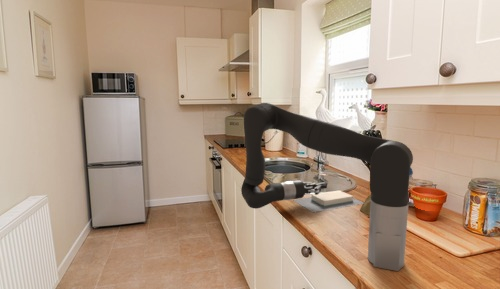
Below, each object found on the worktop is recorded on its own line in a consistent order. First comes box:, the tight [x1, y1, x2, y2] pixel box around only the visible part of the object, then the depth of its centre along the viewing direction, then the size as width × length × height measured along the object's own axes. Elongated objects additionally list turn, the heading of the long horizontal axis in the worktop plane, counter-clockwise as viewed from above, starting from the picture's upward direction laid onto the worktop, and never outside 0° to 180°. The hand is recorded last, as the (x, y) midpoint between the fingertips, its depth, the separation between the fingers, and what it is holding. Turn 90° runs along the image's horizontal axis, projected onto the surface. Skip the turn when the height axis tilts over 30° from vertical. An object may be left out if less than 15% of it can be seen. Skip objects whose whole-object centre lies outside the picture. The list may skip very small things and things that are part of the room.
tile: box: [311, 190, 354, 207], centre depth 128 cm, size 2×9×15 cm
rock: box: [359, 192, 371, 219], centre depth 112 cm, size 11×9×10 cm
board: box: [292, 196, 365, 213], centre depth 128 cm, size 26×16×1 cm, turn 113°
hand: (325, 185), depth 126 cm, fingers closed
